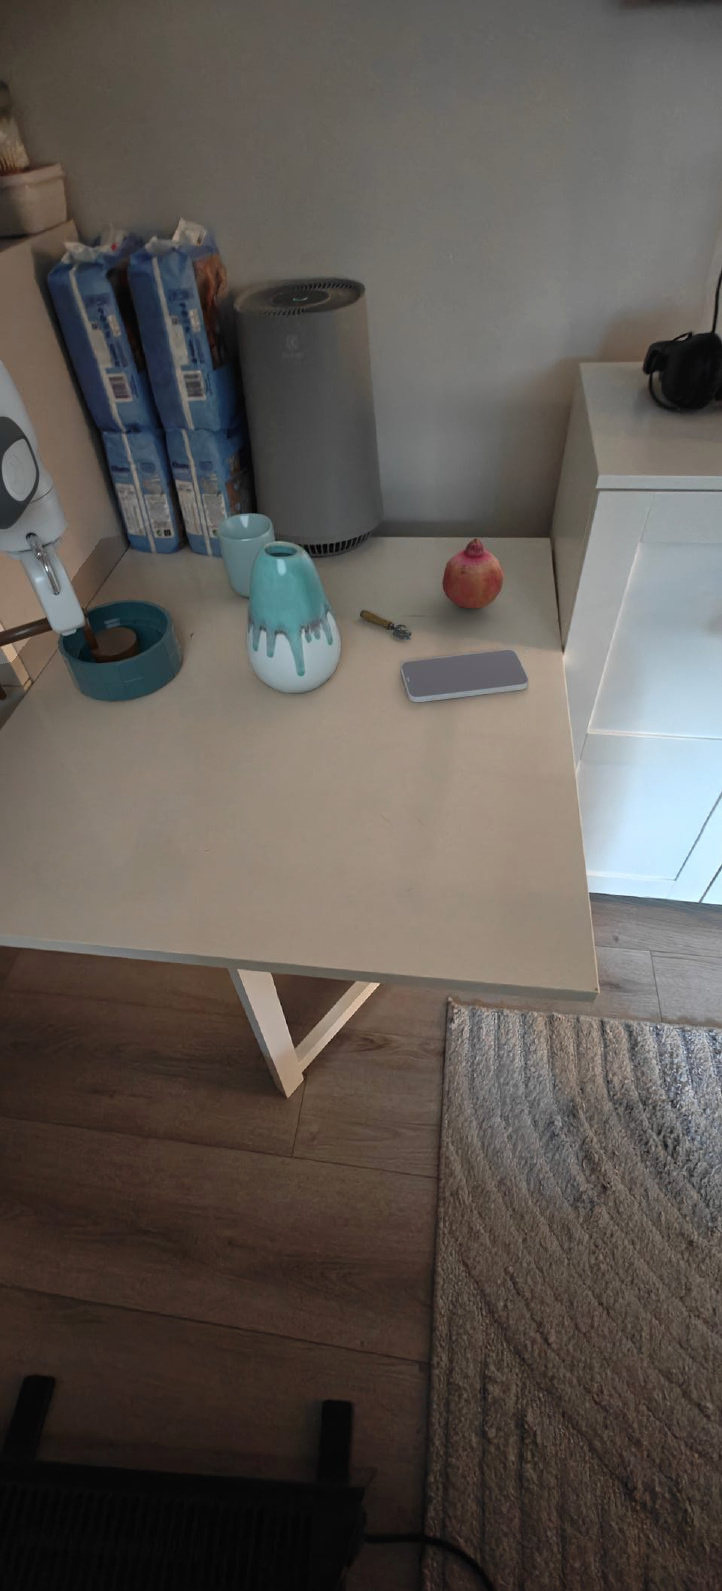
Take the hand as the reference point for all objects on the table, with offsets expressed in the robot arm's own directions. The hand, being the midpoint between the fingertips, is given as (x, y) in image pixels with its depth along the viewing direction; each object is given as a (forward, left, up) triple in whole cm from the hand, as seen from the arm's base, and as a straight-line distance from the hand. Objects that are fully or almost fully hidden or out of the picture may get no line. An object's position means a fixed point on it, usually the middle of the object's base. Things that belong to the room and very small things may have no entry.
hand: (65, 625), depth 89 cm
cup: (+27, -7, -9) cm, 29 cm away
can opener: (+27, -29, -8) cm, 41 cm away
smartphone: (+22, -43, -8) cm, 49 cm away
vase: (+13, -24, -9) cm, 29 cm away
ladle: (-1, +1, -7) cm, 7 cm away
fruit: (+37, -37, -9) cm, 53 cm away
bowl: (+4, -3, -8) cm, 10 cm away
